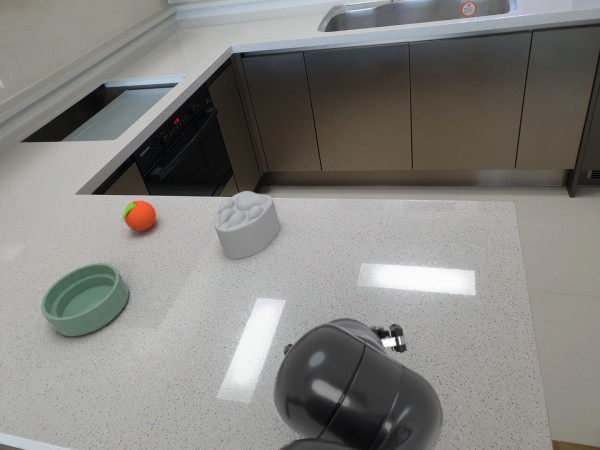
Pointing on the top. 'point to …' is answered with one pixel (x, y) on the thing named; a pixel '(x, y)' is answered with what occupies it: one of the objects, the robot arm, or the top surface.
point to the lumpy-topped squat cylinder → (246, 224)
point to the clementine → (139, 215)
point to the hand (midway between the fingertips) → (342, 340)
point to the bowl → (85, 299)
